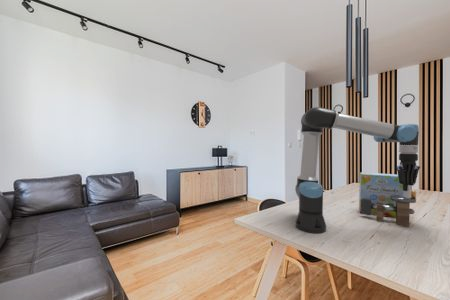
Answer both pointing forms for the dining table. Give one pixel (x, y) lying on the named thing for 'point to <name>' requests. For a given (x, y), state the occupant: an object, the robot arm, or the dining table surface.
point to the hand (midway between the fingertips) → (406, 196)
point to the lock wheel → (404, 198)
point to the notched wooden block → (401, 213)
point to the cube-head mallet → (368, 205)
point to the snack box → (379, 190)
